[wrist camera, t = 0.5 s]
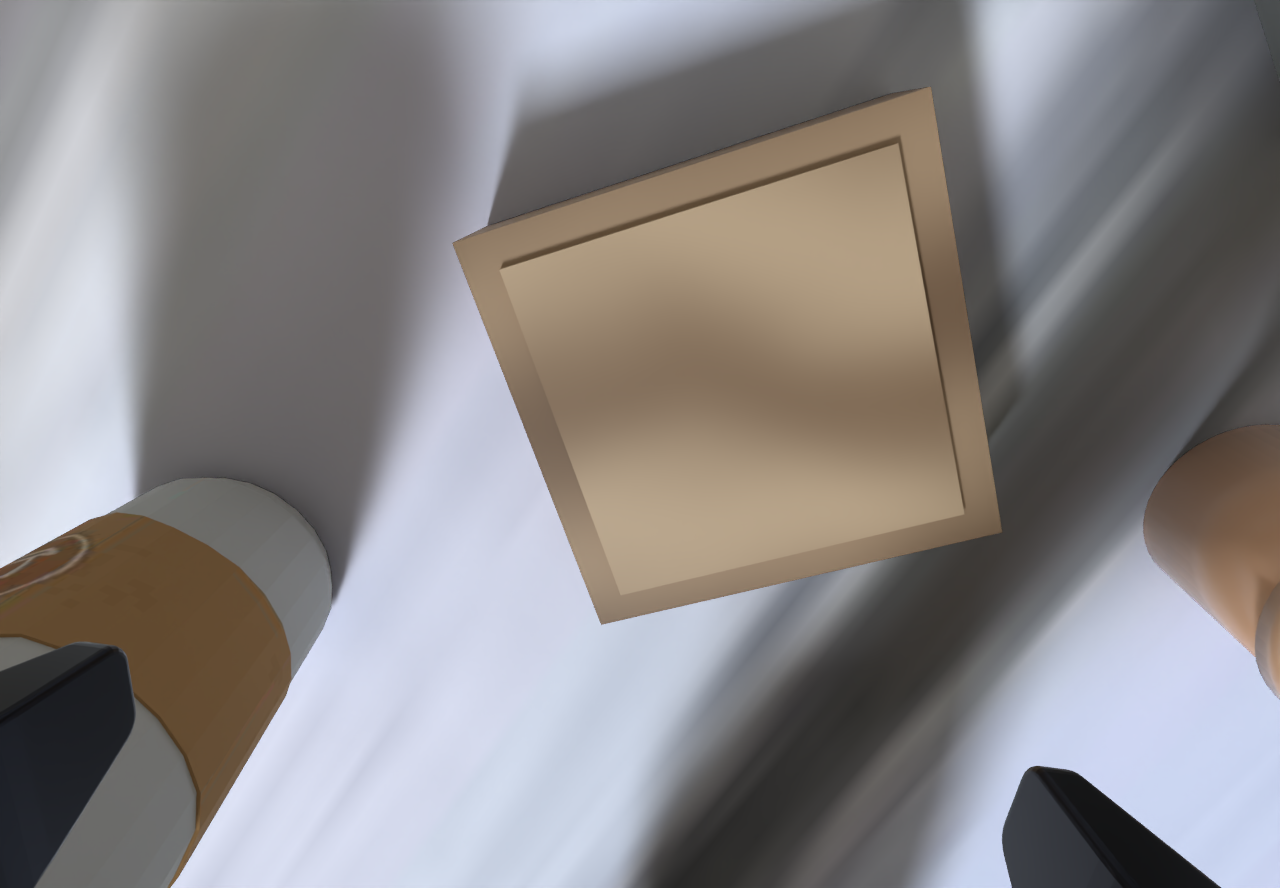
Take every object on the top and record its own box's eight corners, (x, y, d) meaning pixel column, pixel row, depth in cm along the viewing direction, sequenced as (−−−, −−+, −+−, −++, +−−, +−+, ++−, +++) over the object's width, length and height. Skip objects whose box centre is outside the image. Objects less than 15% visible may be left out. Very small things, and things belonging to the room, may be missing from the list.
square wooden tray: (960, 478, 21) (1004, 535, 18) (611, 563, 23) (600, 628, 20) (892, 93, 17) (933, 86, 15) (486, 226, 19) (450, 244, 16)
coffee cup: (264, 389, 21) (-539, 887, 7) (424, 623, 24) (57, 1315, 10) (41, 502, 23) (-945, 1074, 9) (214, 708, 26) (-347, 1394, 12)
